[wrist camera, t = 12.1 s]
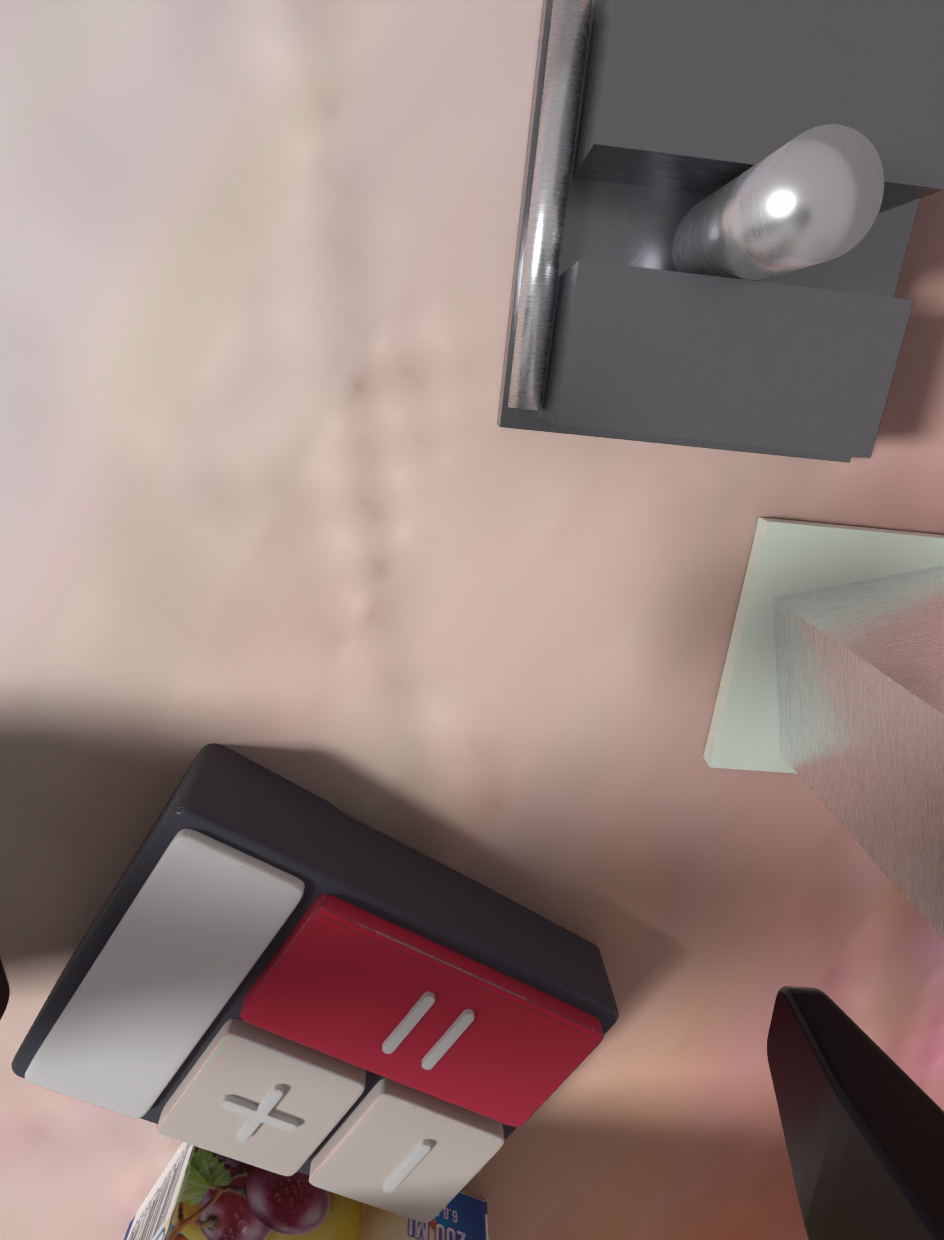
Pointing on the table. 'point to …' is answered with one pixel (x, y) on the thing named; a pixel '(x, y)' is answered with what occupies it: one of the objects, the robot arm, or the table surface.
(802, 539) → the pad
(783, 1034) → the robot arm
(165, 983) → the calculator
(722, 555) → the table surface
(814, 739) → the grey stepped block
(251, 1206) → the blue food box
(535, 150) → the vise
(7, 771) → the table surface
